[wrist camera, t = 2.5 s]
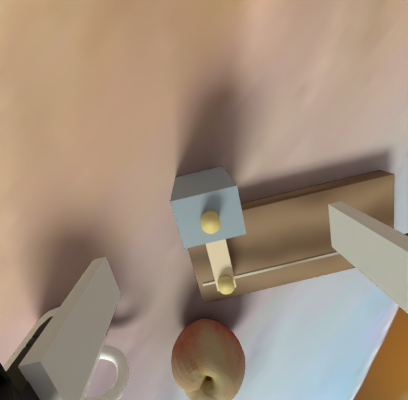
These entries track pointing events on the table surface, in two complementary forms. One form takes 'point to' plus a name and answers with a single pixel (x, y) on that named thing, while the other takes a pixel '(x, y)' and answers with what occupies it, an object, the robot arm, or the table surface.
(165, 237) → the table surface
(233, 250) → the board
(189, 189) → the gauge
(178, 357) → the fruit
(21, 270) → the table surface
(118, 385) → the mug
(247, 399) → the table surface
